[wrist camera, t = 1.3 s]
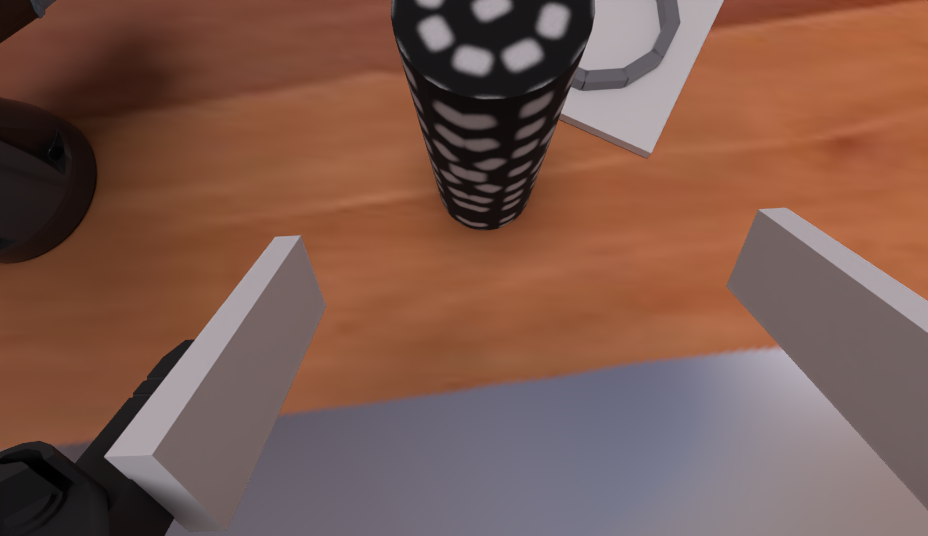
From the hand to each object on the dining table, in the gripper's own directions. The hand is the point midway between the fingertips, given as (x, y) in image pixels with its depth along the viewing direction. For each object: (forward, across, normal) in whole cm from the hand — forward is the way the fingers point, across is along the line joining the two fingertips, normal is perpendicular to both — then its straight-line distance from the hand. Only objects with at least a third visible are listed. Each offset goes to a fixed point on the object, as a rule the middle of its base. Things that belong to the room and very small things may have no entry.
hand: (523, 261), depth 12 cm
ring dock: (+34, +11, +3) cm, 36 cm away
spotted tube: (+24, 0, -8) cm, 25 cm away
